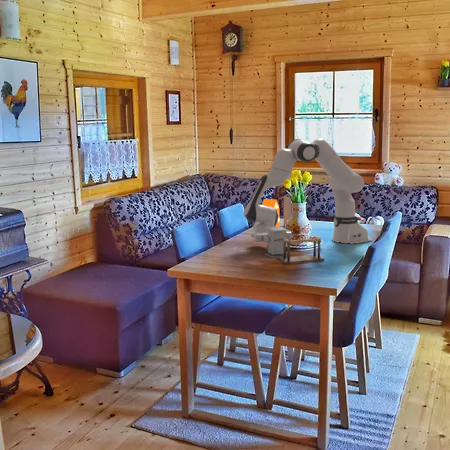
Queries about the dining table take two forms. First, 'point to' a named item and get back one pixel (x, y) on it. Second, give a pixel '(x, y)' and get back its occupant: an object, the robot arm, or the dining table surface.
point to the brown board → (302, 259)
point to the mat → (275, 255)
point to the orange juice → (272, 204)
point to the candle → (287, 209)
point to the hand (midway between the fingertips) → (277, 239)
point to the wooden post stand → (301, 242)
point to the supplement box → (276, 240)
